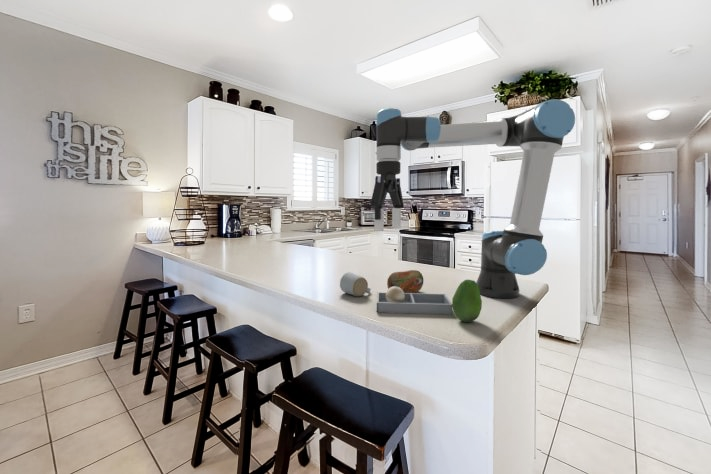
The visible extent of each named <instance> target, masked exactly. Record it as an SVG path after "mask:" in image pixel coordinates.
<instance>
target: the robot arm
mask: <svg viewBox="0 0 711 474" xmlns="http://www.w3.org/2000/svg"><path fill="white" fill-rule="evenodd" d="M575 115H576V114H575V112H574V110H573V108H571V105H570V104H569V103H567V102H566V101H564V100H562V99H555V98H553V99H548V100H546V101H542V102H540V103H538V104H537V105H536V106H533V107H532V108H529V109H528V110H525V111H523V112H521V113H519V114H517V115H513V116H510V117H501V118H499V119H498V120H497V121H486V122H485V121H484V122H468V123H465V122H463V123H448V124H441V120H440V119H439V118H438V117H435V116H429V115H428V116H402V111H401V110H400V109H399V108H391V107H388V108H383V109H381V110H378V112H377V113H376V126H375V129H376V133H375V134H376V152H375V154H376V161H377V162H376V165H375V166H376V167H375V168H376V169H375V170H376V172H375V173H376V174H377V175H375V179H374V180H375V181H374V187H373V191H372V195H371V199H370V209H371V210H374V211H373V212H374V216H373V217H374V218H373V219H374V221H373V223H374V224H373V225H374V226H373V227H374V231H377V232H384V230H385V229H384V228H385V227H384V224H385V223H384V218H385V217H384V216H385V215H384V214H385V213H384V211H385V210H384V208H383V206H384V205H385V204H384V203H385V202H386V201H385V200H386V197H387V195H388V194H389V198H390V200H391V204H392V206H393V208H392V209H391V212H392V215H391V216H392V217H391V218H392V219H391V225H392V229H394V228H395V229H398V228H399V229H400V228H401V227H402V226H401V221H402V220H401V219H402V217H401V215H402V212H401V211H402V209H404V206H405V205H404V200H403V193H402V188H401V178H400V177H396V176H397V175H400V174H401V164H402V163H401V162H400V161H401V159H402V157H401V156H402V153H401V151H402V148H403V149H404V150H405V151H409V152H410V151H414V150H417V149H430V148H445V147H446V148H449V147H464V146H465V147H466V146H468V147H469V146H482V145H496V146H497V147H499V148H500V147H501V148H502V147H520V148H521V150H522V151H523V156H522V159H521V160H522V161H521V165H520V171H519V176H518V180H517V184H516V185H517V187H516V192H515V197H514V200H513V201H514V202H513V206H512V211H511V217H510V221H509V225H508V226H506V227H505V228H503V230H494V231H493V230H492V231H485V232H483V234H482V237H481V257H480V261H481V262H480V272H479V274H478V277H477V278H476V279H477V280H476V281H475V282H476V283H477V285H478V288H479V292H480V296H484V297H490V298H495V299H514V298H518V297H519V296H520V286H519V284H518V280H517V276H516V275H521V276H530V275H533V274H535V273H536V272H538V271H540V270H541V269H543V267H544V265H545V264H546V262H547V259H548V252H547V251H548V250H547V249H546V247H545V245H544V244H543V243H542V242H543V240H544V234H543V232H541V230H540V227H541V221H542V217H543V211H544V207H545V202H546V197H547V192H548V187H549V183H550V177H551V172H552V168H553V164H554V158H555V154H556V153H557V152H558V151H560V150H561V149H562V146H563V141H564V137H565V136H567V135H568V134H569V133H570V132H572V131H573V129H574V127H575V124H576V116H575Z"/></svg>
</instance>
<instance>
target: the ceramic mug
mask: <svg viewBox="0 0 711 474" xmlns="http://www.w3.org/2000/svg"><path fill="white" fill-rule="evenodd" d="M339 287H340V290H341V291H342V292H344V293H345V294H349V295H351V296H354V297H362V296H364V295H365V294H366V292H367V293H370V292H371V289H372V288H370V287H369V284H368V280H367V279H366V278H365V277H363V276H361V275H359V274H356V273H354V272H351V271H350V272H349V271H348V272H345V273H344V274H343V275H342V276H341V278H340V281H339Z"/></svg>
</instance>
